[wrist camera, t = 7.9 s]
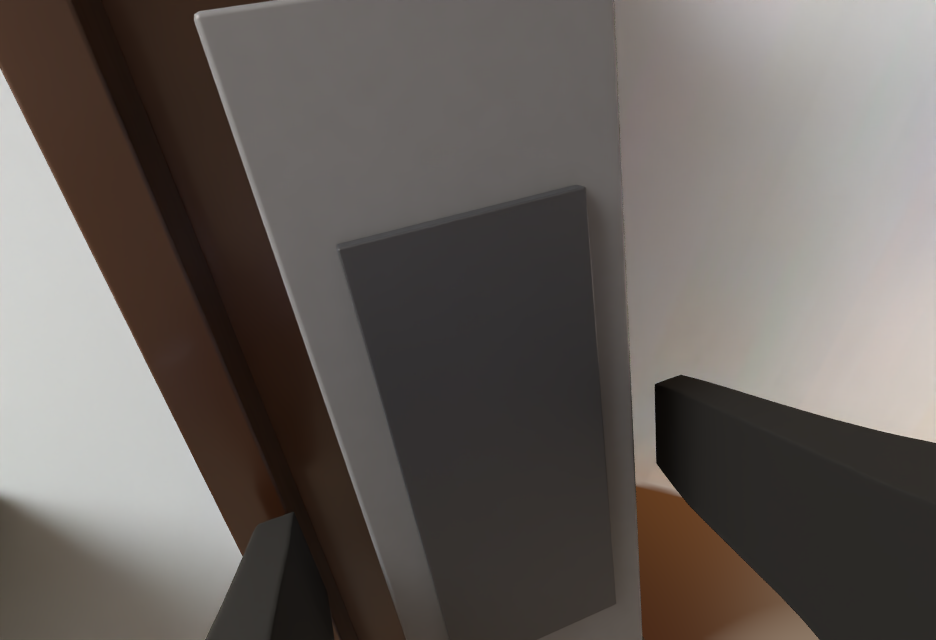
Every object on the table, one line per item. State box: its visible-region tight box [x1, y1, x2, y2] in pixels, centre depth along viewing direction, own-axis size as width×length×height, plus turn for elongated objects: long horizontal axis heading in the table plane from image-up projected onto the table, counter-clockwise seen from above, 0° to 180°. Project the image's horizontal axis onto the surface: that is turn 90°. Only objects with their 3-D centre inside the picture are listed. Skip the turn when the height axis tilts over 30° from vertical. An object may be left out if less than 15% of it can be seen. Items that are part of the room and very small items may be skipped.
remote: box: [194, 0, 642, 640], centre depth 10 cm, size 5×16×3 cm, turn 11°
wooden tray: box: [0, 0, 645, 640], centre depth 12 cm, size 9×22×6 cm, turn 10°
